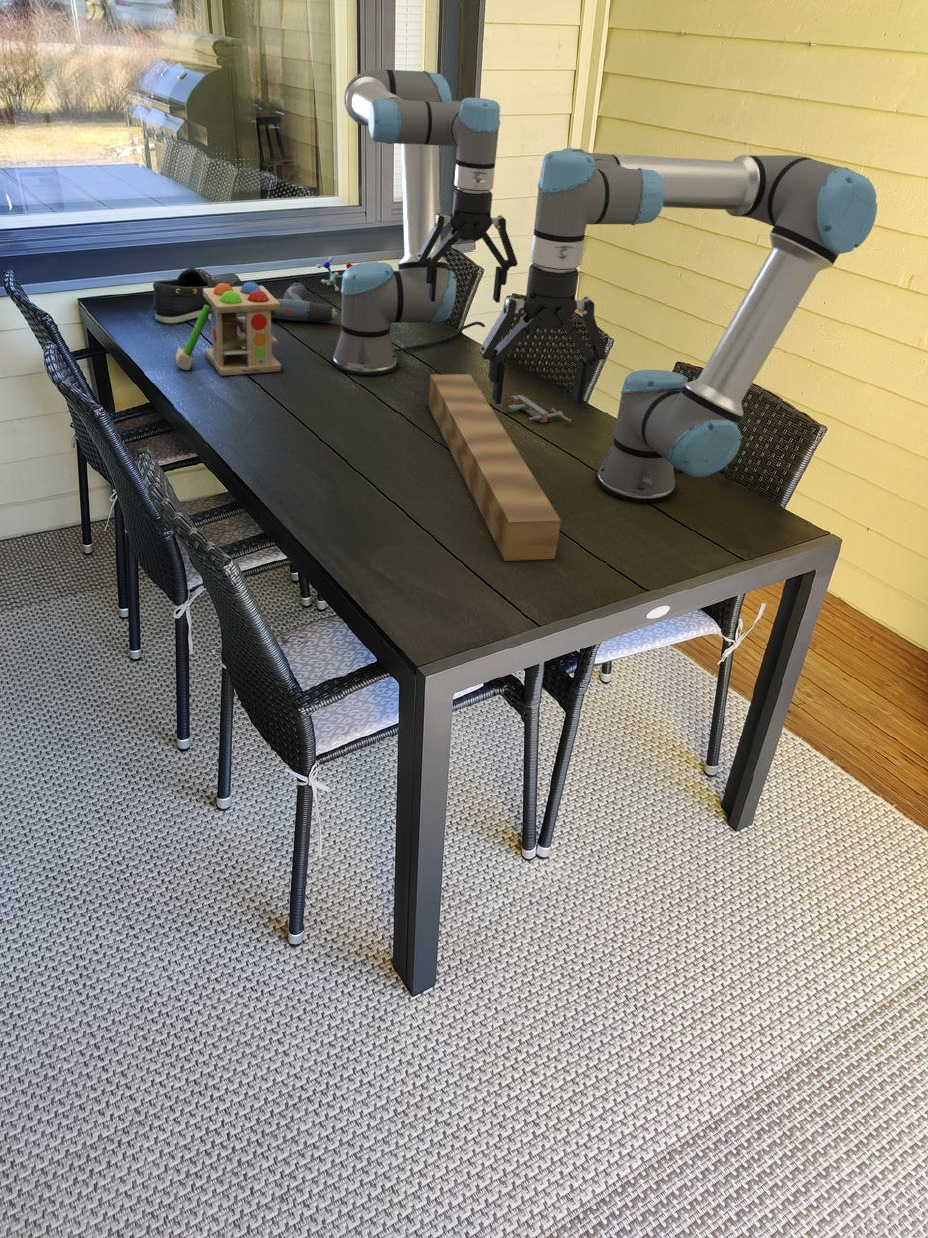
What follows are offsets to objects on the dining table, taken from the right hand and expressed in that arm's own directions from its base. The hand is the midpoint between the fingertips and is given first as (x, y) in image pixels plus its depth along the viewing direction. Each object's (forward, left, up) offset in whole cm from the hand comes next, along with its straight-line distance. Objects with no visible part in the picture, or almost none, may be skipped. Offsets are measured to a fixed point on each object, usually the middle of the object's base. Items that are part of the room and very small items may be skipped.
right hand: (536, 400), depth 158 cm
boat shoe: (-18, -138, -26) cm, 142 cm away
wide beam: (-13, -23, -26) cm, 37 cm away
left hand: (-27, -46, 0) cm, 53 cm away
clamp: (-43, -37, -26) cm, 63 cm away
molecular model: (-62, -138, -26) cm, 153 cm away
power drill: (-40, -122, -26) cm, 131 cm away
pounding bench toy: (-1, -98, -26) cm, 102 cm away
